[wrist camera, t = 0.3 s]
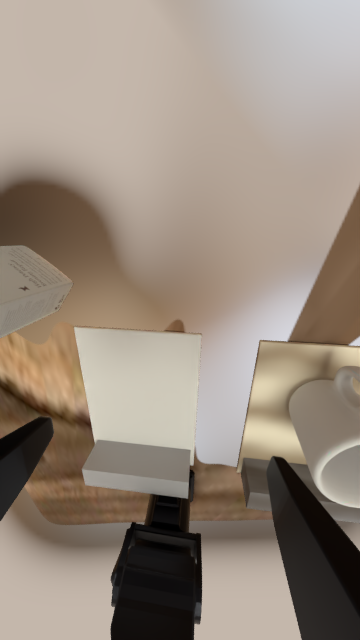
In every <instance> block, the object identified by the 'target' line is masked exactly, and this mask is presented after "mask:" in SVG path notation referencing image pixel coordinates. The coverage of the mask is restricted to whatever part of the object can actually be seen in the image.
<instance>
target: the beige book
mask: <svg viewBox="0 0 360 640" xmlns="http://www.w3.org/2000/svg"><path fill="white" fill-rule="evenodd" d="M344 366H358V367H360V346H348V345H332V344H316V343H300V342H284V341H267V340H260V342H259V348H258V353H257V358H256V364H255V369H254V375H253V381H252V386H251V392H250V398H249V403H248V408H247V414H246V420H245V425H244V431H243V436H242V442H241V448H240V453H239V459H238V465H237V472H240V473H241V477H242V483H243V489H244V495H245V501H246V507H247V508H250V509H257V510H265V511H272V509H271V502H270V496H269V489H268V483H267V476H266V470H267V467H268V464H269V462H270V459H271V457H272V456H279V457H283V458H284V459H285V460H286V461H287V462H288V463H289V465H290V466H291V467H292V468H293V470H294V471H295V472H296V473H297V474H298V476H299V477H300V478H301V479H302V481H303V482H304V483H305V484H306V486H307V487H308V488H309V489H310V490H311V492H312V493H313V494H314V495H315V497H316V498H317V499H318V500H319V502H320V503H321V504H322V505H323V507H324V508H325V509H326V510H327V511H328V513H329V514H330V515H331V516H332V518H333V519H334V520H340V521H347V522H355V523H360V508H354V507H348V506H345V505H341V504H338V503H336V502H334V501H332V500H330V499H329V498H327V497H326V496H324V495H323V494H322V493H321V492H320V491H319V489H318V488H317V487H316V485H315V483H314V481H313V479H312V476H311V473H310V470H309V468H308V465H307V462H306V459H305V456H304V454H303V451H302V448H301V445H300V443H299V440H298V437H297V434H296V432H295V429H294V426H293V423H292V420H291V417H290V413H289V402H290V399H291V397H292V395H293V393H294V392H295V391H296V390H297V389H298V388H299V387H301V386H302V385H304V384H306V383H308V382H311V381H315V380H332V381H334V378H335V375H336V373H337V371H338V370H339V369H340V368H341V367H344ZM353 388H354V390H355V392H356V393H358V394H359V395H360V383H359V382H358V380H357V379H355V378H353Z"/></svg>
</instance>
